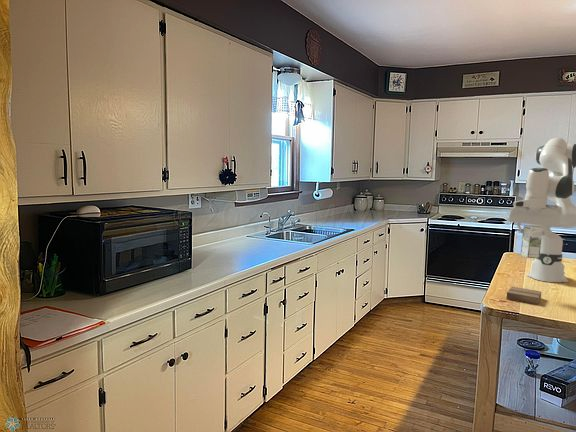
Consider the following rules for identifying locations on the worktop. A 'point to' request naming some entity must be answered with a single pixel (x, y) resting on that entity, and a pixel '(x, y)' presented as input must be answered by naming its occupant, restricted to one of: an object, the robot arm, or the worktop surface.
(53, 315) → the worktop surface
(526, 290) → the walnut base
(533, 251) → the syrup box
